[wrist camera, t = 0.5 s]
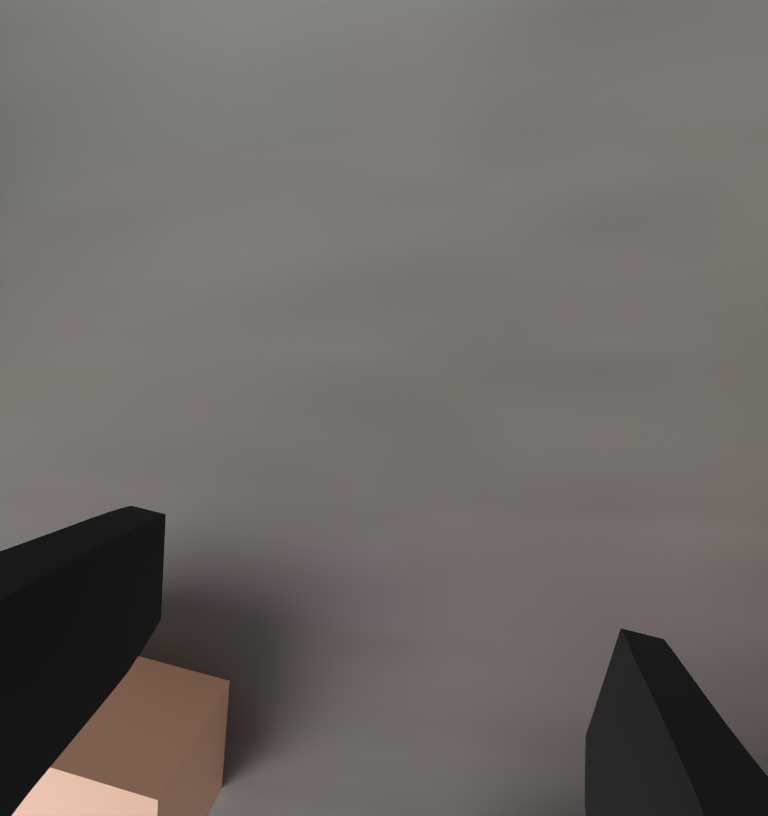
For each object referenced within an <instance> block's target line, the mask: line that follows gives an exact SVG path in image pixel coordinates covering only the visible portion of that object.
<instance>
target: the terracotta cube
mask: <svg viewBox="0 0 768 816" xmlns="http://www.w3.org/2000/svg"><path fill="white" fill-rule="evenodd" d="M229 685H230V681H228V680H225V679H221V678H217V677H214V676H210V675H206V674H203V673H199V672H195V671H192V670H188V669H184V668H181V667H177V666H173V665H170V664H166V663H162V662H159V661H155V660H151V659H148V658H144V657H140V656H138V657H137V659H136V661H135V662H134V664H133V665H132V667H131V668H130V670H129V671H128V673H127V674H126V675H125V677H124V678H123V679H122V680H121V682H120V683H119V684H118V685H117V687H116V688H115V689H114V690H113V692H112V693H111V694H110V695H109V696H108V698H107V699H106V700H105V701H104V703H103V704H102V705H101V706H100V708H99V709H98V710H97V711H96V712H95V714H94V715H93V716H92V717H91V719H90V720H89V721H88V722H87V723H86V725H85V726H84V727H83V728H82V729H81V731H80V732H79V733H78V734H77V735H76V737H75V738H74V739H73V740H72V741H71V743H70V744H69V745H68V746H67V747H66V749H65V750H64V751H63V752H62V753H61V755H60V756H59V757H58V758H57V760H56V761H55V762H54V763H53V764H52V766H51V767H50V768H49V769H48V770H47V772H46V773H45V774H44V775H43V776H42V778H41V779H40V780H39V781H38V782H37V784H36V785H35V786H34V787H33V788H32V790H31V791H30V792H29V793H28V795H27V796H26V797H25V799H24V800H23V801H22V803H21V804H20V805H19V807H18V808H17V809H16V810H15V812H14V813H13V814H12V816H208V814H209V812H210V810H211V808H212V806H213V804H214V802H215V800H216V798H217V796H218V794H219V792H220V790H221V788H222V779H223V766H224V752H225V739H226V725H227V712H228V698H229Z"/></svg>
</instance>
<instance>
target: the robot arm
mask: <svg viewBox="0 0 768 816" xmlns="http://www.w3.org/2000/svg"><path fill="white" fill-rule="evenodd" d="M165 515H166V514H162V513H158V512H154V511H150V510H146V509H142V508H138V507H134V506H129V507H125V508H121V509H118V510H114V511H111V512H108V513H105V514H102V515H100V516H97V517H94V518H91V519H88V520H86V521H83V522H80V523H77V524H75V525H72V526H69V527H66V528H64V529H61V530H58V531H56V532H53V533H50V534H47V535H45V536H42V537H39V538H36V539H34V540H31V541H28V542H25V543H23V544H20V545H17V546H14V547H12V548H9V549H6V550H3V551H0V816H12V814H13V813H14V812H15V810H16V809H17V808H18V807H19V805H20V804H21V803H22V801H23V800H24V799H25V797H26V796H27V795H28V793H29V792H30V791H31V790H32V788H33V787H34V786H35V785H36V784H37V782H38V781H39V780H40V779H41V778H42V776H43V775H44V774H45V773H46V772H47V770H48V769H49V768H50V767H51V766H52V764H53V763H54V762H55V761H56V760H57V758H58V757H59V756H60V755H61V753H62V752H63V751H64V750H65V749H66V747H67V746H68V745H69V744H70V743H71V741H72V740H73V739H74V738H75V737H76V735H77V734H78V733H79V732H80V731H81V729H82V728H83V727H84V726H85V725H86V723H87V722H88V721H89V720H90V719H91V717H92V716H93V715H94V714H95V712H96V711H97V710H98V709H99V708H100V706H101V705H102V704H103V703H104V701H105V700H106V699H107V698H108V696H109V695H110V694H111V693H112V692H113V690H114V689H115V688H116V687H117V685H118V684H119V683H120V682H121V680H122V679H123V678H124V677H125V675H126V674H127V673H128V671H129V670H130V668H131V667H132V665H133V664H134V662H135V661H136V659H137V657H138V656H139V654H140V653H141V651H142V650H143V648H144V646H145V645H146V643H147V641H148V640H149V638H150V636H151V635H152V633H153V632H154V630H155V628H156V627H157V625H158V623H159V622H160V620H161V603H162V581H163V559H164V537H165ZM585 808H586V816H768V777H767V775H766V774H765V773H764V772H763V770H762V769H761V768H760V767H759V765H758V764H757V763H756V762H755V760H754V759H753V758H752V757H751V755H750V754H749V753H748V752H747V750H746V749H745V748H744V747H743V745H742V744H741V743H740V741H739V740H738V739H737V737H736V736H735V735H734V734H733V732H732V731H731V730H730V728H729V727H728V726H727V724H726V723H725V722H724V720H723V719H722V718H721V716H720V715H719V714H718V712H717V711H716V710H715V708H714V707H713V706H712V704H711V703H710V702H709V700H708V699H707V697H706V696H705V695H704V693H703V692H702V691H701V689H700V688H699V686H698V685H697V684H696V682H695V681H694V680H693V678H692V677H691V675H690V674H689V673H688V671H687V670H686V668H685V667H684V666H683V664H682V663H681V662H680V660H679V659H678V657H677V656H676V655H675V653H674V652H673V651H672V649H671V648H670V647H669V645H668V644H667V643H666V642H665V640H664V639H661V638H657V637H653V636H649V635H645V634H641V633H637V632H633V631H629V630H625V629H621V630H620V633H619V636H618V639H617V642H616V645H615V648H614V651H613V654H612V657H611V660H610V663H609V667H608V670H607V673H606V676H605V679H604V682H603V685H602V688H601V691H600V694H599V697H598V700H597V703H596V707H595V710H594V713H593V716H592V719H591V722H590V725H589V728H588V731H587V734H586V756H585Z"/></svg>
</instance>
